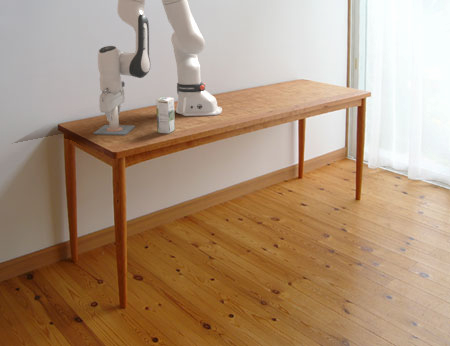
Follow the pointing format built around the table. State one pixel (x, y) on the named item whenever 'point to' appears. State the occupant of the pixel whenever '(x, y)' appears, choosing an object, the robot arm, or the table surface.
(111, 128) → the tube
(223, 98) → the table surface
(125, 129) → the card
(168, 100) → the syrup box
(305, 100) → the table surface
